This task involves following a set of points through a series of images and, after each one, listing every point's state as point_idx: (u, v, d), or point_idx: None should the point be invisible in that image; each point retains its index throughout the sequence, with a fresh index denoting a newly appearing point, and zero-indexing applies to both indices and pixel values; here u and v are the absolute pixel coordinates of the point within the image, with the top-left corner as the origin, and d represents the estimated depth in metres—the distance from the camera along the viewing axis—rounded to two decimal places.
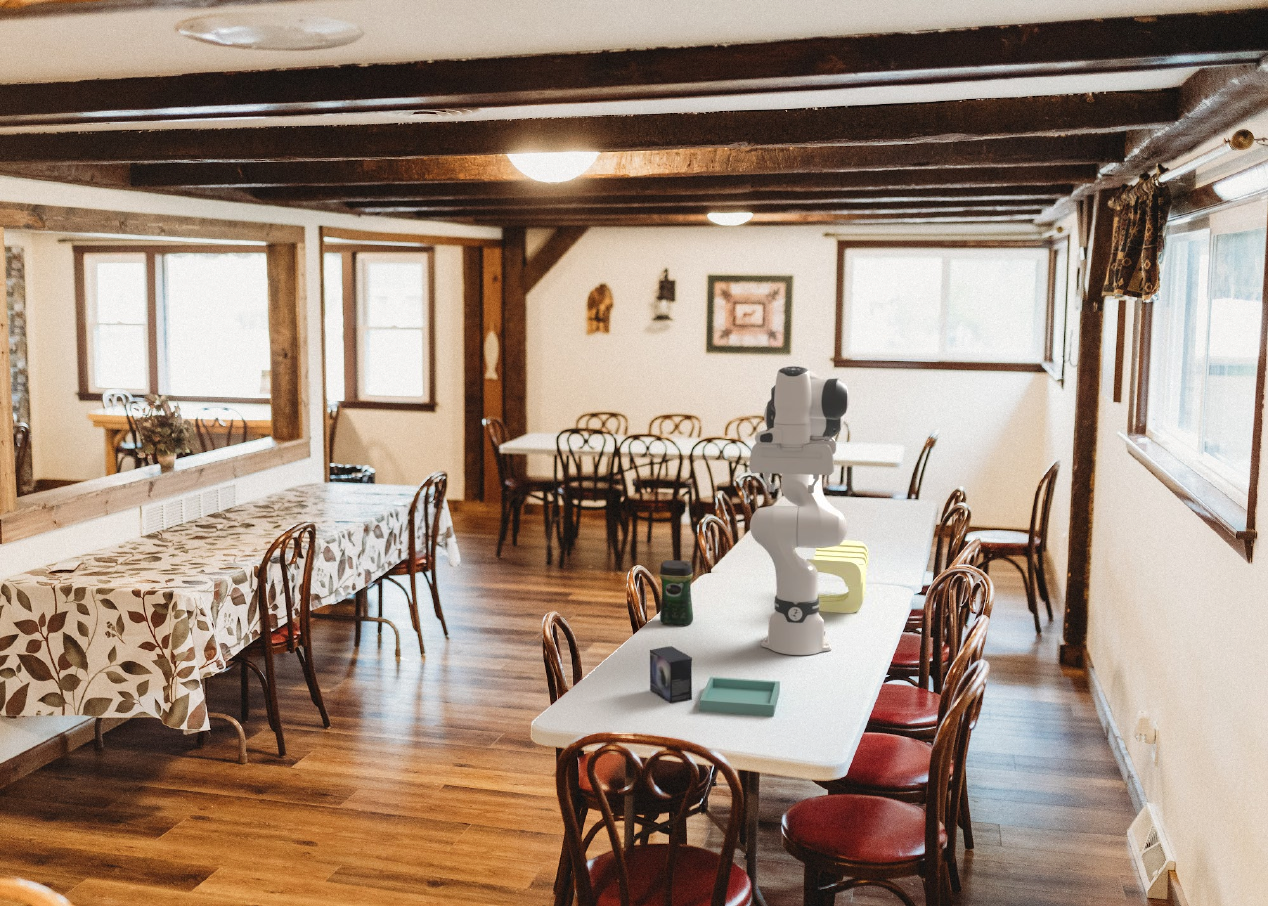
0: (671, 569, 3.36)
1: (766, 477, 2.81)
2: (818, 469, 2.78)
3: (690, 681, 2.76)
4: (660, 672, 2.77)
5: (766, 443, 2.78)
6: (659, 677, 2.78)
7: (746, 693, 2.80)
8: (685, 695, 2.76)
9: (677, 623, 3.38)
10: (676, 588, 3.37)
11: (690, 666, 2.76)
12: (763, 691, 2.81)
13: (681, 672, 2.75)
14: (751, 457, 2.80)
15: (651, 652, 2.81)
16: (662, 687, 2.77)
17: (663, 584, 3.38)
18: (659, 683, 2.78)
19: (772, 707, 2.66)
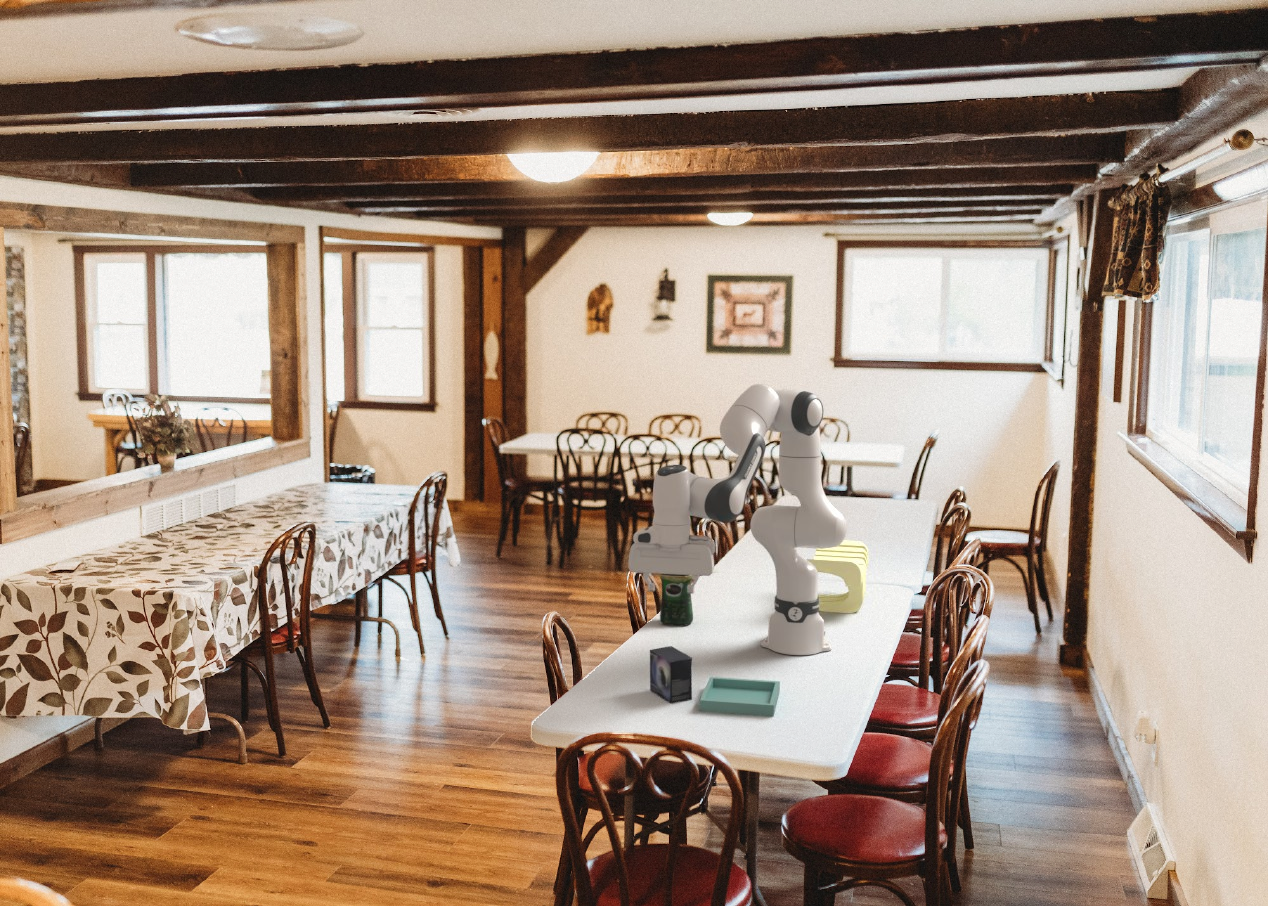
0: None
1: (645, 577, 2.77)
2: (696, 570, 2.73)
3: (690, 681, 2.76)
4: (660, 672, 2.77)
5: (644, 543, 2.74)
6: (659, 677, 2.78)
7: (746, 693, 2.80)
8: (685, 695, 2.76)
9: (677, 623, 3.38)
10: (676, 588, 3.37)
11: (690, 666, 2.76)
12: (763, 691, 2.81)
13: (681, 672, 2.75)
14: (630, 557, 2.75)
15: (651, 652, 2.81)
16: (662, 687, 2.77)
17: (663, 584, 3.38)
18: (659, 683, 2.78)
19: (772, 707, 2.66)
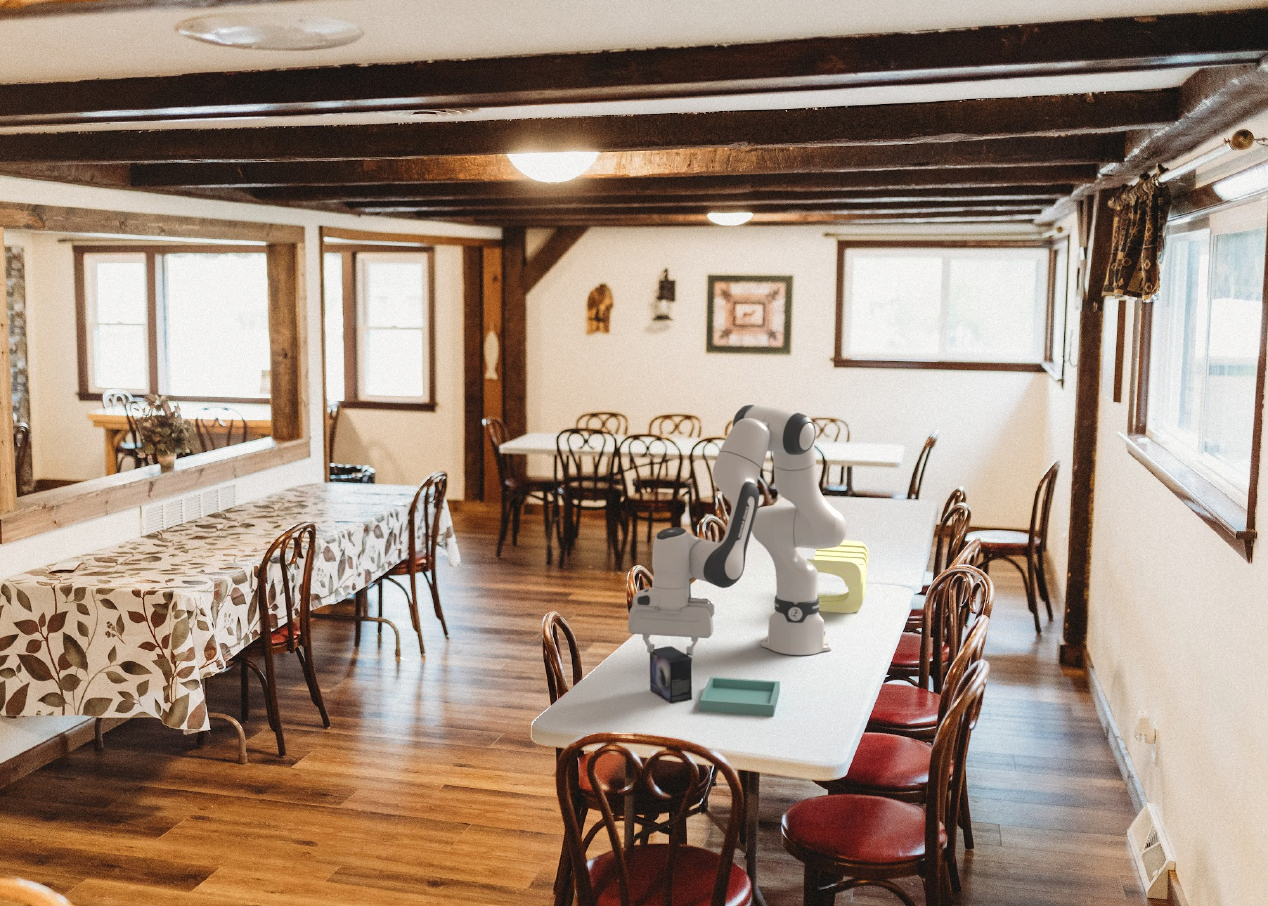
0: None
1: (645, 638, 2.78)
2: (695, 632, 2.75)
3: (690, 681, 2.76)
4: (660, 672, 2.77)
5: (644, 605, 2.75)
6: (659, 677, 2.78)
7: (746, 693, 2.80)
8: (685, 695, 2.76)
9: None
10: None
11: (690, 666, 2.76)
12: (763, 691, 2.81)
13: (681, 672, 2.75)
14: (629, 618, 2.77)
15: None
16: (662, 687, 2.77)
17: None
18: (659, 683, 2.78)
19: (772, 707, 2.66)
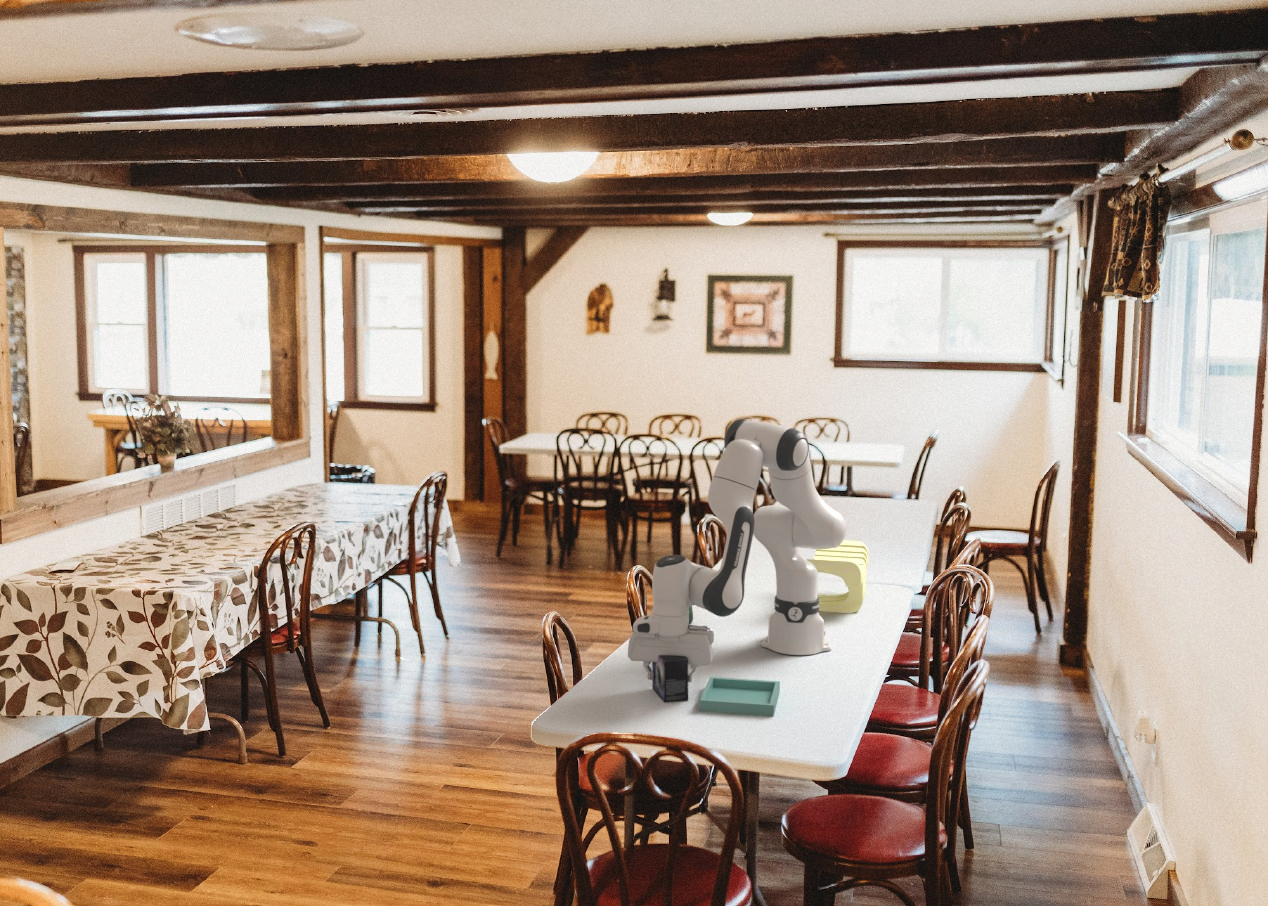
0: None
1: (645, 665, 2.79)
2: (695, 659, 2.76)
3: (686, 682, 2.75)
4: (657, 670, 2.78)
5: (643, 633, 2.76)
6: (657, 676, 2.78)
7: (746, 693, 2.80)
8: (681, 696, 2.76)
9: None
10: None
11: (686, 667, 2.75)
12: (763, 691, 2.81)
13: (676, 672, 2.74)
14: (629, 645, 2.78)
15: None
16: (658, 686, 2.77)
17: None
18: (657, 682, 2.78)
19: (772, 707, 2.66)
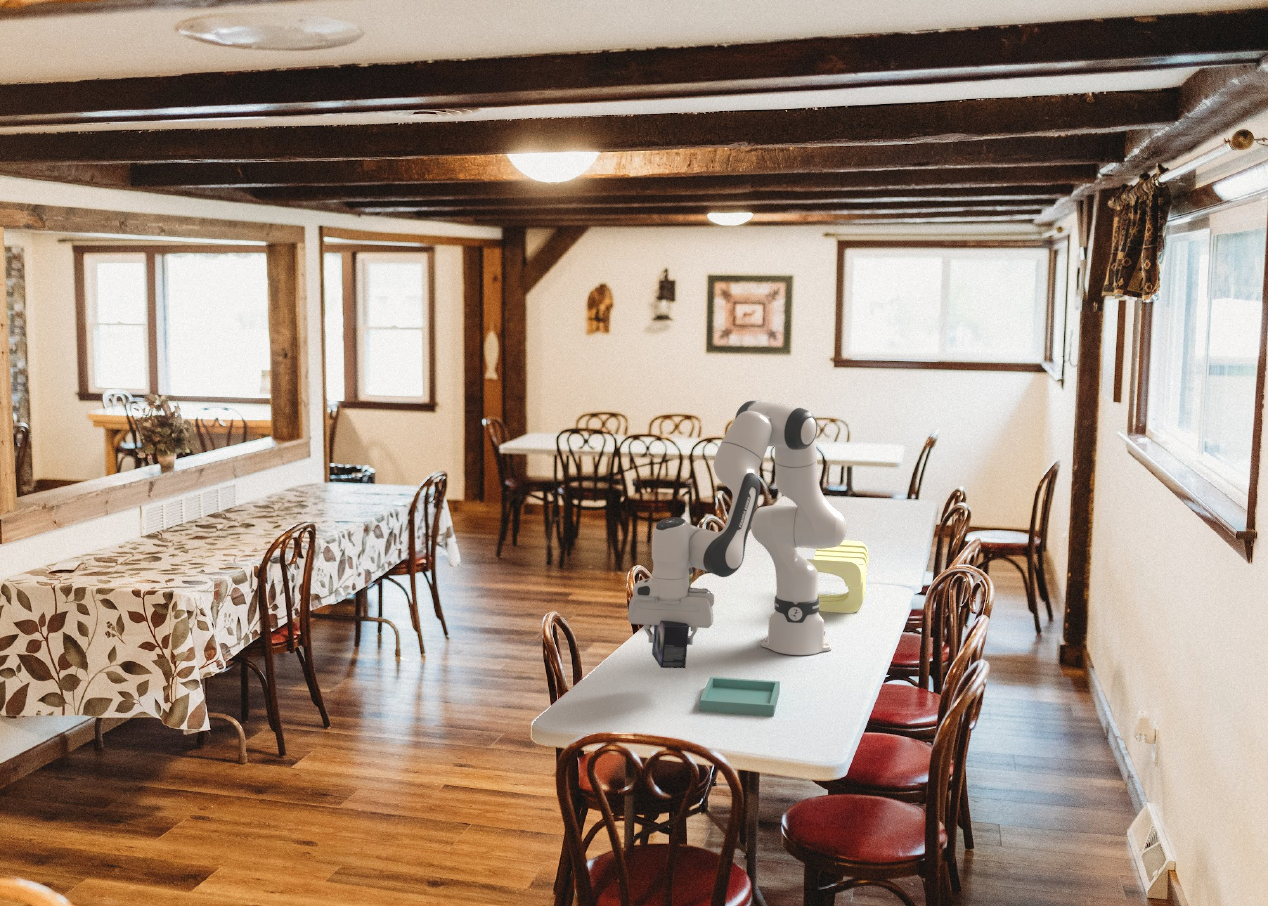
0: None
1: (646, 628, 2.79)
2: (695, 622, 2.75)
3: (685, 649, 2.74)
4: (658, 635, 2.77)
5: (644, 596, 2.75)
6: (657, 641, 2.78)
7: (746, 693, 2.80)
8: (678, 663, 2.75)
9: None
10: None
11: (686, 634, 2.74)
12: (763, 691, 2.81)
13: (676, 638, 2.73)
14: (629, 609, 2.78)
15: None
16: (657, 651, 2.77)
17: None
18: (656, 647, 2.78)
19: (772, 707, 2.66)
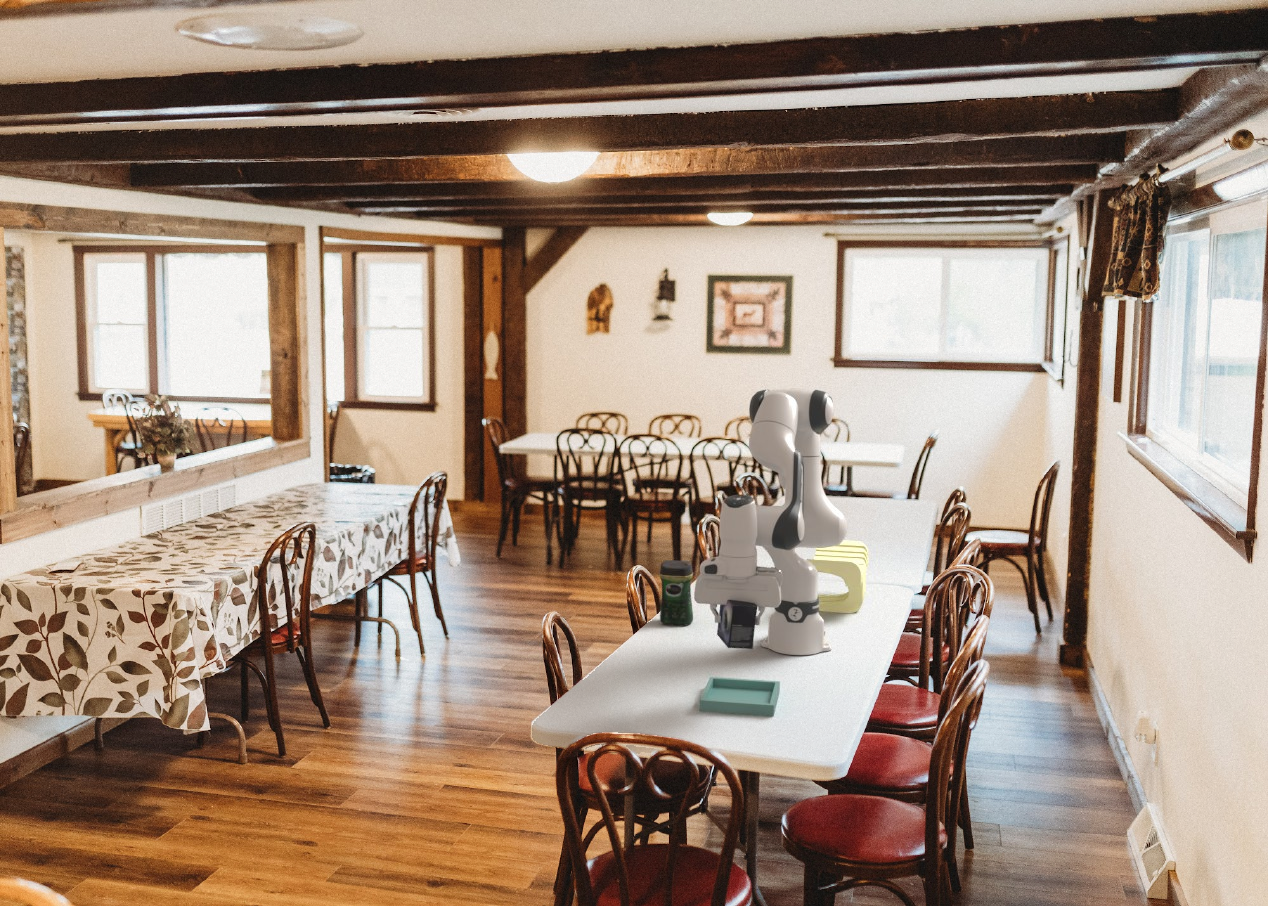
0: (671, 569, 3.36)
1: (712, 608, 2.74)
2: (764, 601, 2.70)
3: (752, 630, 2.69)
4: (725, 615, 2.72)
5: (711, 574, 2.70)
6: (723, 621, 2.73)
7: (746, 693, 2.80)
8: (746, 643, 2.69)
9: (677, 623, 3.38)
10: (676, 588, 3.37)
11: (754, 614, 2.69)
12: (763, 691, 2.81)
13: (744, 618, 2.68)
14: (696, 588, 2.73)
15: None
16: (724, 631, 2.72)
17: (663, 584, 3.38)
18: (723, 627, 2.73)
19: (772, 707, 2.66)
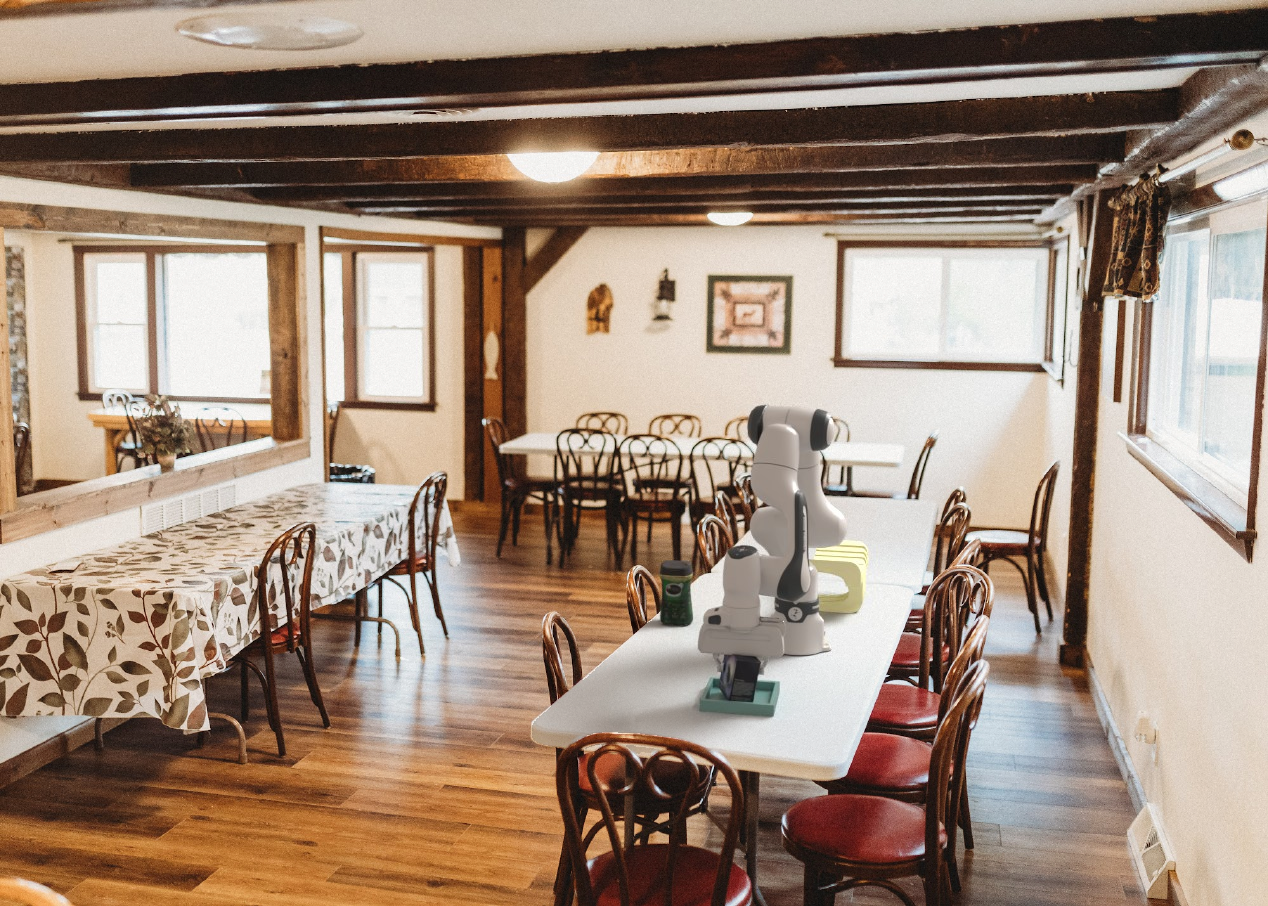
0: (671, 569, 3.36)
1: (715, 657, 2.75)
2: (767, 652, 2.71)
3: (754, 686, 2.71)
4: (728, 669, 2.73)
5: (714, 625, 2.72)
6: (726, 674, 2.74)
7: None
8: (746, 699, 2.71)
9: (677, 623, 3.38)
10: (676, 588, 3.37)
11: (757, 670, 2.70)
12: (763, 691, 2.81)
13: (746, 673, 2.70)
14: (699, 638, 2.74)
15: None
16: (725, 684, 2.73)
17: (663, 584, 3.38)
18: (725, 680, 2.74)
19: (772, 707, 2.66)
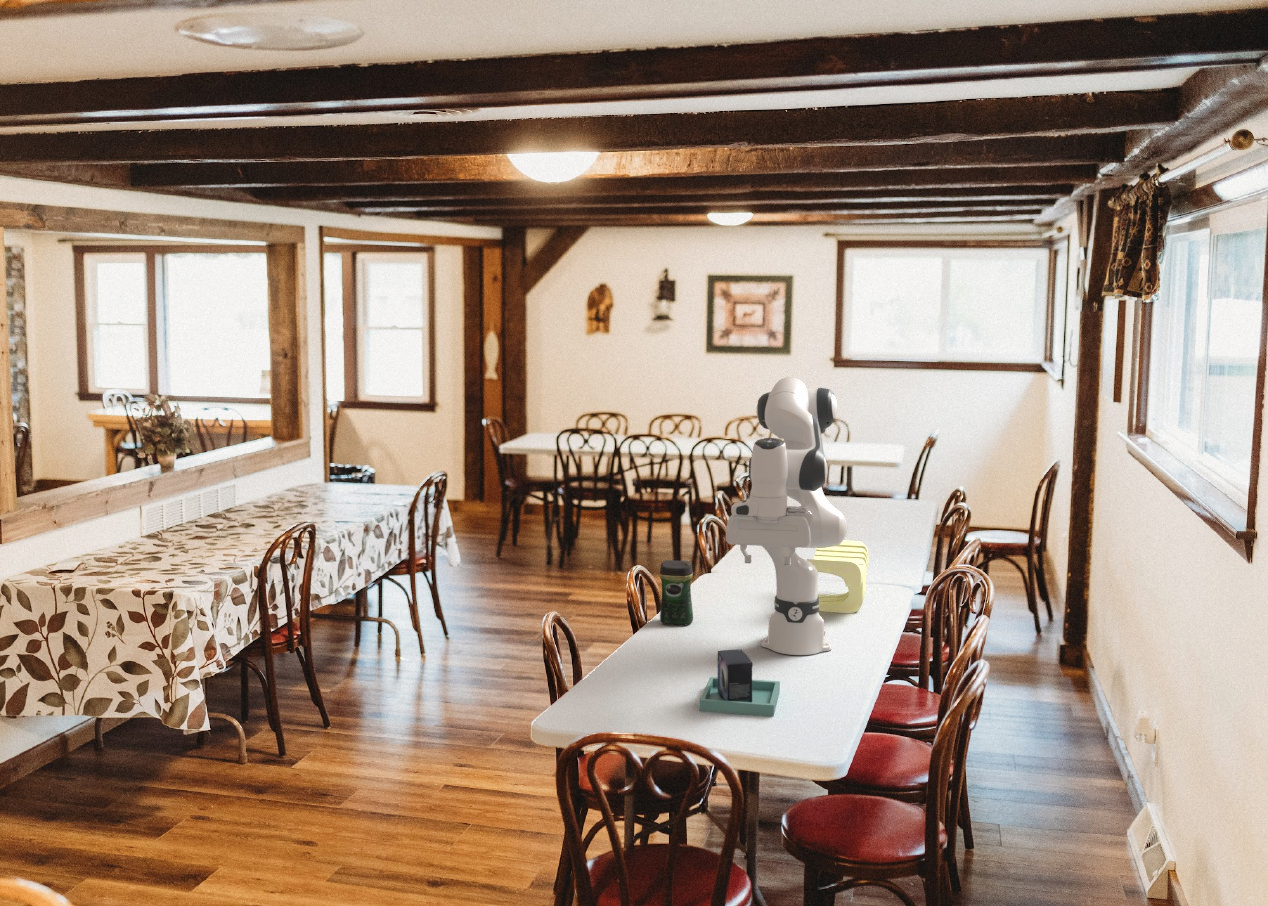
0: (671, 569, 3.36)
1: (742, 549, 2.80)
2: (794, 541, 2.77)
3: (750, 686, 2.71)
4: (722, 673, 2.73)
5: (742, 515, 2.77)
6: (721, 679, 2.74)
7: None
8: (745, 700, 2.71)
9: (677, 623, 3.38)
10: (676, 588, 3.37)
11: (750, 671, 2.70)
12: (763, 691, 2.81)
13: (740, 675, 2.70)
14: (727, 529, 2.79)
15: (718, 653, 2.78)
16: (722, 689, 2.73)
17: (663, 584, 3.38)
18: (721, 685, 2.74)
19: (772, 707, 2.66)
